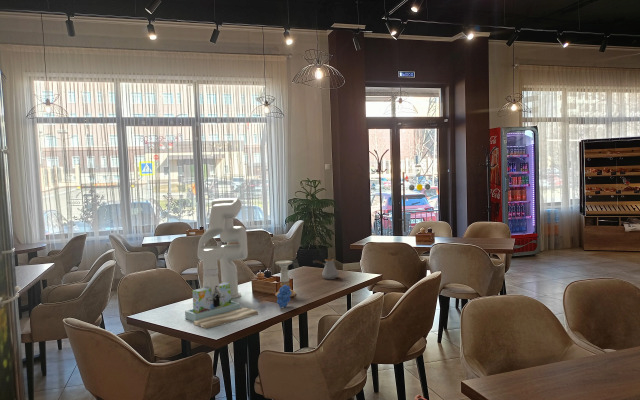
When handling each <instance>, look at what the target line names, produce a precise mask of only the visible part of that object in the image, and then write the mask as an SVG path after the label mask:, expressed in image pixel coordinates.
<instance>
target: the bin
mask: <svg viewBox="0 0 640 400" xmlns="http://www.w3.org/2000/svg"><path fill="white" fill-rule="evenodd" d="M237 309H241V304H240V302H236V301H233V300H231V305H229V306H225V307H221V308H217V309H213V310H209V311H205V312H201V313H198V314H195V313H193V308H191V309H188V310H185V311H184V313H185V315H184V316H185V318H184V319H185V320H188V321H191V322H193V323H194V321H196V320H200V319H203V318H207V317H211V316H215V315H218V314H222V313H226V312H229V311H233V310H237Z"/></svg>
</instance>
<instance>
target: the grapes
mask: <svg viewBox="0 0 640 400" xmlns="http://www.w3.org/2000/svg"><path fill="white" fill-rule="evenodd" d="M290 289H291V287H290V285H289V286H287V285H286V284H285V285H283V287H282V286H281V287H280V288H279V289H278V291H279V292H280V293H278V294H277V297H276V298H277V300H276V304H277V305H279V308H281V309H282V308H283V307H284V308H286V307H287V306H288V303H290V302H291V297H289V296H291V294H292V293H291V291H290Z"/></svg>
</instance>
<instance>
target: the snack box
mask: <svg viewBox="0 0 640 400" xmlns="http://www.w3.org/2000/svg"><path fill="white" fill-rule="evenodd" d="M219 286H220V291H221V295H220V306H218V307H214V297H213V295H210V288H207V287H204V288H203V287H201V288H200V287H199V288H197V289H193V290H192V307H193V308H192V309H193V313H195V314H198V313H201V312H205V311H209V310H213V309H217V308H221V307H225V306H229V305H231V301H232V299H231V290H230V283H222V282H219ZM215 296H216V295H215Z"/></svg>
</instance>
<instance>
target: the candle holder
mask: <svg viewBox="0 0 640 400" xmlns="http://www.w3.org/2000/svg"><path fill="white" fill-rule="evenodd" d="M274 264H275V265H276V266H279V267H280V269H281V270H280V271H279V272H280V280H279V281H280V284H279V285H280V286H281V287H283V285H285V284H286V285H287V286H290V285H291V283H290V282H289V281H290V276H289V270H288V267H289V265H293V260H290V259H289V260H287V259H285V260H284V259H283V260H278V261H275V263H274ZM290 291H291V293H292V294H291V296H289V297H290V298H292V297H295V296H296V294H297V292H296V291H295V290H293V289H291V288H290ZM278 293H280V292H279V290H278V291H277V292H276V293H274V295H275V297H276V298H277V294H278Z"/></svg>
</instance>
